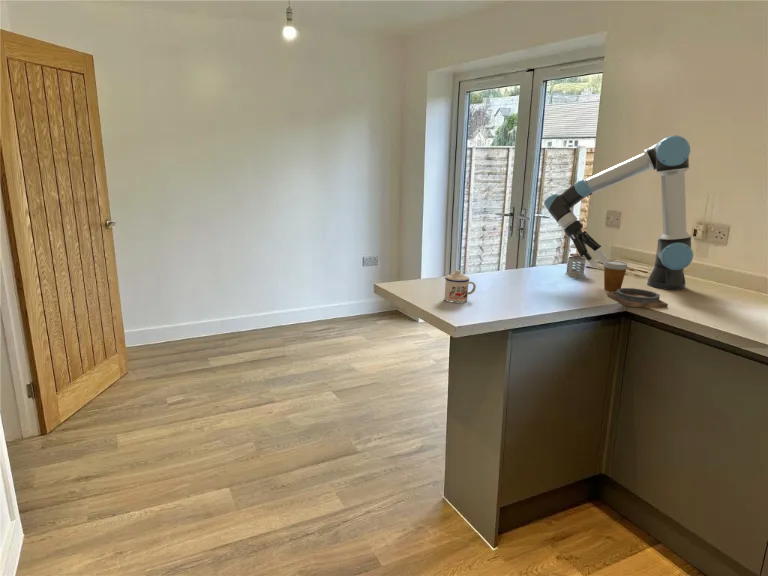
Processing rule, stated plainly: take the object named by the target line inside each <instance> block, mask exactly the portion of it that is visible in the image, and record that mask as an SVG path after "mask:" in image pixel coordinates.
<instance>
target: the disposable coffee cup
mask: <svg viewBox="0 0 768 576" xmlns="http://www.w3.org/2000/svg"><path fill="white" fill-rule="evenodd" d="M602 264H603V263H602ZM628 268H629V266H628V263H626V262H623V261H619V260H618V261H616V260H608V261H605V263H604V264H603V270H604V271H603V272H604V273H603V275H604V276H603V277H604V278H603V280H604V282H603V283H604V284H603V286H604V287H603V289H604V291H606V292H616V291H617V289H621V288H622V285H623V281H624V279H625V275H626V271H627V270H628Z"/></svg>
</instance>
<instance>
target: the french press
mask: <svg viewBox="0 0 768 576" xmlns="http://www.w3.org/2000/svg"><path fill="white" fill-rule="evenodd" d="M580 223H581V224H582V225H583V226H584V223H583V222H580ZM585 246H586V248H587V249H588V245H585ZM569 248H572V249H577V248H576V247H575V245H574V243H572V244H570V245H569ZM569 248H567V249H566V250H565V251H563V254H562V261H563V263H564V264H566V272H565V273H564V275H565V276H567V275H568V277H572V276H573V277H574V278H584V277H587V276H586V274H585V269H586V268H585V267H586V261H587V260H586V258H585V257H584V256H580V254H579V252H578V251H577V253H571V251H572V250H571V249H569ZM567 252H569V253H570V254H569V257H568V259H567V262H566V261H565V259H564V257H565V256H566V253H567Z"/></svg>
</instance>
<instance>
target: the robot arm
mask: <svg viewBox="0 0 768 576" xmlns="http://www.w3.org/2000/svg"><path fill="white" fill-rule="evenodd" d="M690 154H691V145H690V142H689V141H688V140H687V139H686V138H685V137H683V136H680V135H669V136H666V137H664V138H662V139H661V140H659V141H658V142H657V143H655V144H653V145H651V146H650V147H648V148H646V149H644V150H643V152H642V153H640V154H638V155H635V156H633V157H632V158H629V159H627V160H625V161H623V162H621V163H618V164H615V165H614V166H612V167H609V168H607V169H605V170H602V171H601V172H599V173H596V174H594V175H592V176H590V177H587V178H586V179H583V178H580V179H579V180H577V181H576V182H574V184H572V185H570V187H568V188H567V189H566V190H565V191H564V192H562V193H561V194H558V193H553V194H551V195H549V196H548V197H547V198H546V199H545V200H544V202H543V204H544V207H545V208H546V210H547V212H548V213H549V214H550V215H551V216H552V217H553V219H554V220H555V221H556V223H558V227H561V229H562V230H563V232H564V233H565V234H566V235H567V236H568V237H569V238H570V239H571V241H572V244H574V245H575V247H576V248H575V249H576V250H577V252H578V254H580V256H584V257H583V258H585V259H586V260H585V261H587V262H588V263H589V265H590V266H591V267H592V268H595V267H596V266H598V265H599V262H598V261H597V260H596V258H595V257H594V256H593V254H592V253H591V252H590V251H589V250H588V247H589V248H590V249H591V250H593V251H594V253H595V255H596V257H598V259H599V260H600V261H601V262H602V264H604V263H605V261H610V259H609V258H608V257H607V255H606V254H605V253H604V251H603V250H602V249H601V247H602V245H601V244H599V243H598V242H597V241H596V240H595V239H594V238H593V237H592V236H591V235H590V234H589V233H588V232H587V231H586V230H584V231H582V229H583V228H584V224H583V225H582V224H581V223H582V222H581V221H580V220H578V217H577V215H575V214H574V212H573V211H572V210H571V209H572V208H573V207H574V206H576V205H577V204H579V203H580V202H581V201H582V200H583V199H585V198H587V197H589V196H592V195H594V194H596V193H598V192H600V191H604V190H605V189H608V188H611V187H612V186H614V185H617V184H619V183H621V182H623V181H626V180H628V179H630V178H633V177H635V176H637V175H640V174H642V173H644V172H645V173H646V172H647V171H649V170H651V171H655V170H656V173H657V174H658V175H660V187H661V191H660V192H661V214H662V234H660V235H659V236H658V239H657V248H656V253H655V260H654V265H653V266H654V267H653V269H652V271H651V273H650V275H649V276H648V277H647V283H646V284H647V285H648V286H650V287H654V288H658V289H663V290H668V291H669V290H673V291H680V290H681V291H683V290H685V289H686V285H687V284H686V283H687V282H686V278H685V272H684V270H685V269H686V268H687V267H689V266H690V264H691V263H692V261H693V259H694V252H693V249H692V236H691V234H690V233H688V232H687V231H688V230H687V208H686V207H687V206H686V205H687V204H686V203H687V202H686V200H687V199H686V176H685V175H686V172H687V171H688V170H689V169H690V160H689V158H690ZM586 246H587V248H586Z"/></svg>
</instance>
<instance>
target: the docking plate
mask: <svg viewBox="0 0 768 576" xmlns="http://www.w3.org/2000/svg"><path fill="white" fill-rule="evenodd" d="M607 292H608V294H607V296H608V297H609V298H611V299H613V300H614V301H615V302H617V301H618V302H617V303H619V304H621V305H623V306H624V307H626V308H627V307H629V308H631V307H632V308H634V307H635V308H665V309H666V308H667V309H668V305H669V304H668V303H667V302H665V301H663V300H661V299H660V298H661V297H660V296H661V295H660V294H659V293H657V292H655V291H652V290H647V289H642V288H641V289H640V288H636V287H634V288H633V287H632V288H631V287H621V289H617V291H616V292H610V291H607Z"/></svg>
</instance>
